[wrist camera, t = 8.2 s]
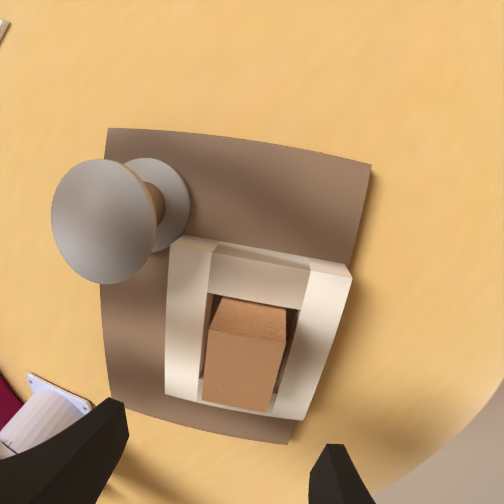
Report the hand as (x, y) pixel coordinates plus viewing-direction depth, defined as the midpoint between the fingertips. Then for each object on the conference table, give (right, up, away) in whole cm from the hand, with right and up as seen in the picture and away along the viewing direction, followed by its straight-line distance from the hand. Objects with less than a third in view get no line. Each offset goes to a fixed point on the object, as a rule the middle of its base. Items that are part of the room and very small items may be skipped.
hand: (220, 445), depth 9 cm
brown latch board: (-1, +3, +9) cm, 10 cm away
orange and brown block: (+1, +3, +8) cm, 8 cm away
